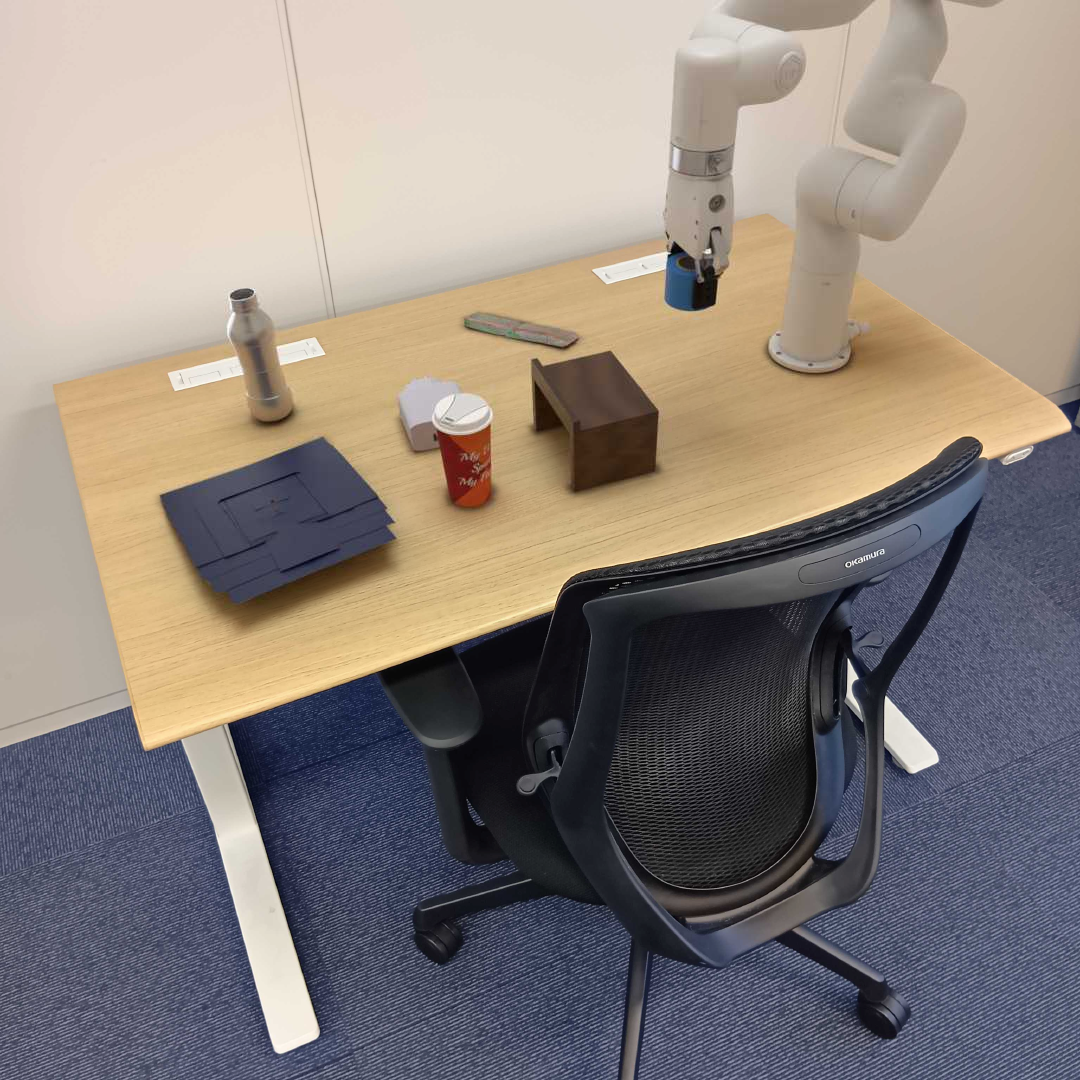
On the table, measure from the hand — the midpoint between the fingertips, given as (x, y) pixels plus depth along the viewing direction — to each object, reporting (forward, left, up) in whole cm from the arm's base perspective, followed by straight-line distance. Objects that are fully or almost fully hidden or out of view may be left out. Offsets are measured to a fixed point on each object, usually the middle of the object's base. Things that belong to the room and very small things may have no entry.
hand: (690, 292), depth 127 cm
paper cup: (+33, +3, -22) cm, 39 cm away
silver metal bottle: (+55, -26, -22) cm, 64 cm away
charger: (+33, -16, -22) cm, 42 cm away
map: (+13, -34, -22) cm, 42 cm away
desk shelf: (+14, 0, -21) cm, 25 cm away
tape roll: (0, 0, -1) cm, 1 cm away
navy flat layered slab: (+58, 0, -22) cm, 61 cm away
